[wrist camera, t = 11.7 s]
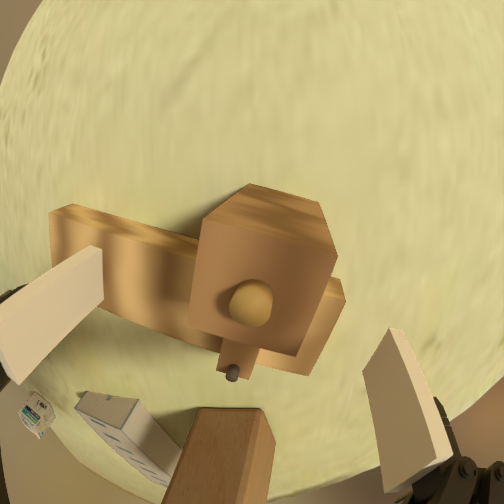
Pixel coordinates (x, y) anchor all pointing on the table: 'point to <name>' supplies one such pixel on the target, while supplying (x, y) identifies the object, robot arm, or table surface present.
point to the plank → (167, 281)
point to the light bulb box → (37, 415)
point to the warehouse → (131, 434)
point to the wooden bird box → (260, 275)
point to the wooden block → (224, 459)
